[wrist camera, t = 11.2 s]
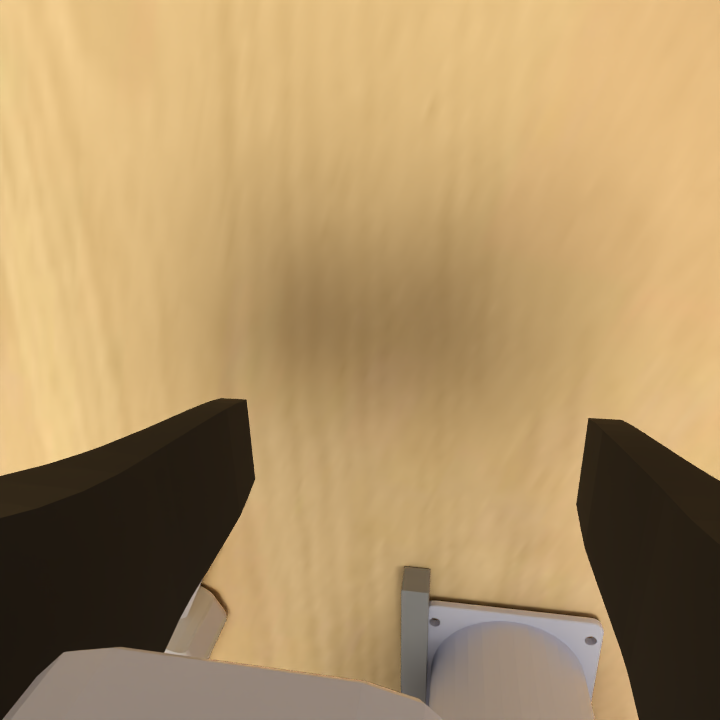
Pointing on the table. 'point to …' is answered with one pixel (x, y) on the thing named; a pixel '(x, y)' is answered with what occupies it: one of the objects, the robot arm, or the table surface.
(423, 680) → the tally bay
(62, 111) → the table surface
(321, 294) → the table surface
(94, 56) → the table surface
